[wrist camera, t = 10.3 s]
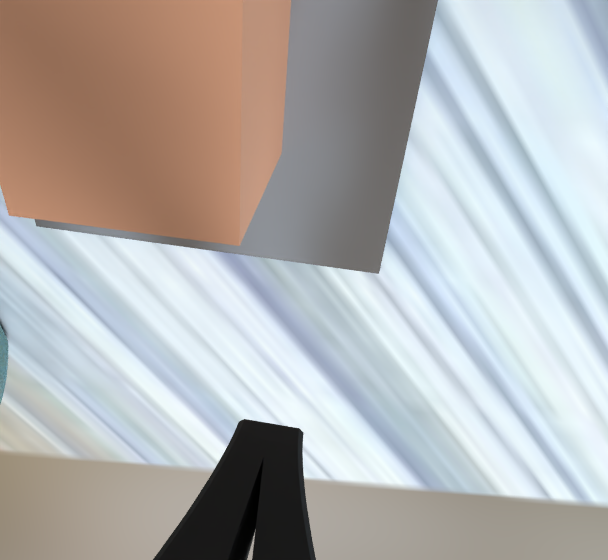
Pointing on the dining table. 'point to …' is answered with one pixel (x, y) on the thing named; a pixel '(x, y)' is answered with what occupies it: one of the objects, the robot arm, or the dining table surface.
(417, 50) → the post block
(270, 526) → the robot arm
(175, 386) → the dining table surface
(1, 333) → the flower pot
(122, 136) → the block
